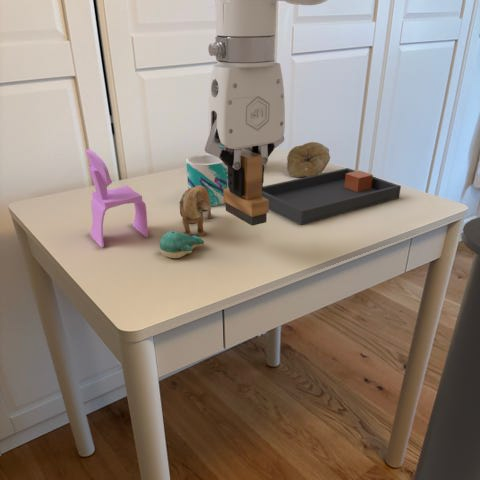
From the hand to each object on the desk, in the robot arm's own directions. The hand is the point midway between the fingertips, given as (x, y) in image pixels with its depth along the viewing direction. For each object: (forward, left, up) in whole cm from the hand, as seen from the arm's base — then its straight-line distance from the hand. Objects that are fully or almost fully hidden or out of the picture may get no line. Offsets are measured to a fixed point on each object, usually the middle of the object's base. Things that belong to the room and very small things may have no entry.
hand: (245, 191), depth 73 cm
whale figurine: (+7, +8, -11) cm, 15 cm away
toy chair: (+19, +14, -11) cm, 26 cm away
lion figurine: (+14, +1, -11) cm, 18 cm away
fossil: (+29, -36, -11) cm, 47 cm away
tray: (+13, -28, -11) cm, 33 cm away
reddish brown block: (+13, -37, -10) cm, 41 cm away
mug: (+27, -10, -11) cm, 31 cm away
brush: (0, 0, -4) cm, 4 cm away
